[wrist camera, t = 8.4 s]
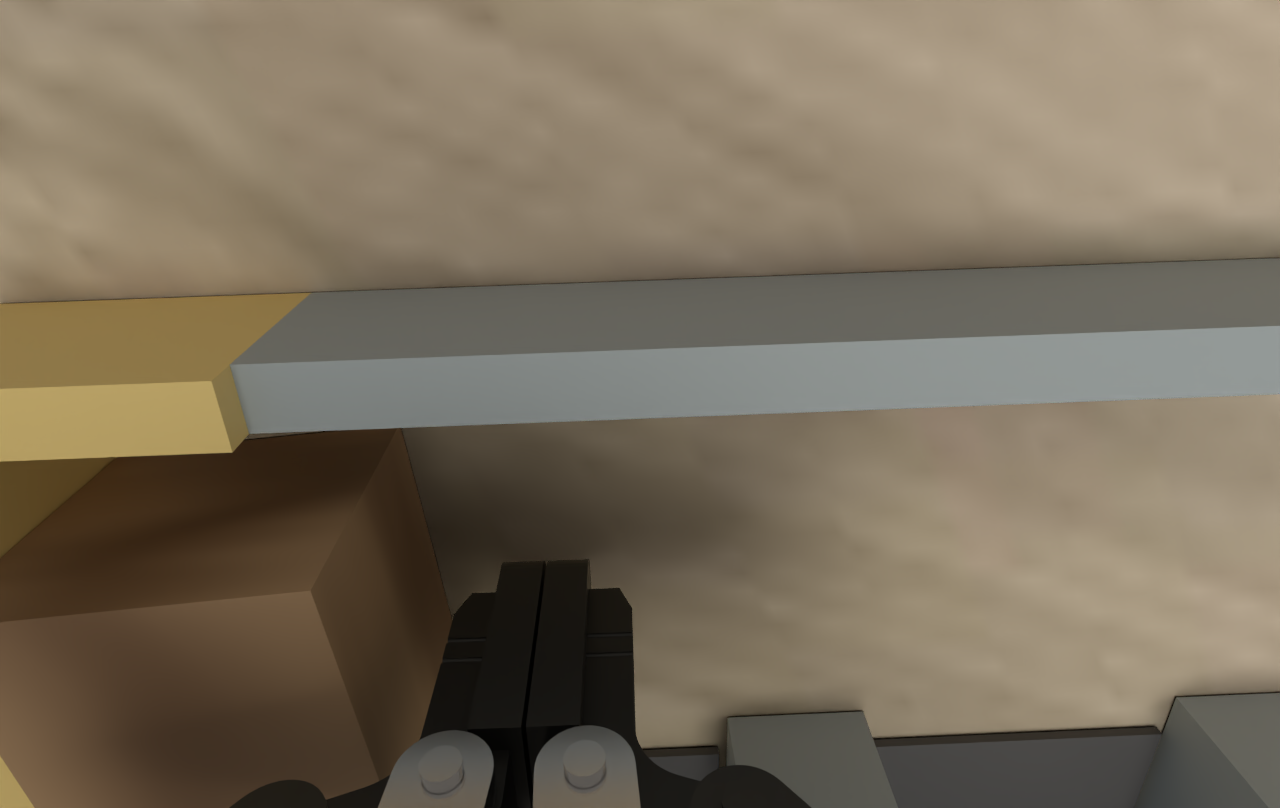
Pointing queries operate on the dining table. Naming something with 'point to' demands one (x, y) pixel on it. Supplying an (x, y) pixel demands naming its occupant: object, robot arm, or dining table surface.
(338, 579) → the walnut block
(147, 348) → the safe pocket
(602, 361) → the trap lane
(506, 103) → the dining table surface
